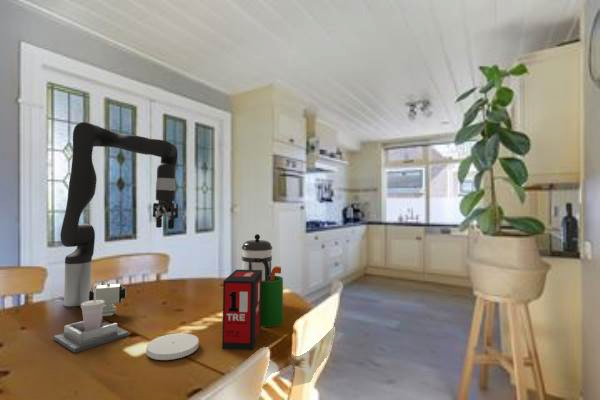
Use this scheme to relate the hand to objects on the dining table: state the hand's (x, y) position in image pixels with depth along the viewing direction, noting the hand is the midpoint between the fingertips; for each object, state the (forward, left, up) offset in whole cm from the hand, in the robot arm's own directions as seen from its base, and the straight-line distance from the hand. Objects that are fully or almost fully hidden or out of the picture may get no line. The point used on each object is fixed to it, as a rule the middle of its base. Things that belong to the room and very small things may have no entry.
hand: (164, 228), depth 134 cm
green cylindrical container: (+48, +12, -32) cm, 59 cm away
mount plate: (+12, -32, -32) cm, 47 cm away
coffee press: (+33, +22, -32) cm, 51 cm away
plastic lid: (+40, -22, -33) cm, 56 cm away
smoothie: (+12, -32, -31) cm, 46 cm away
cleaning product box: (+50, -4, -32) cm, 60 cm away
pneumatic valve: (-6, -19, -32) cm, 38 cm away
